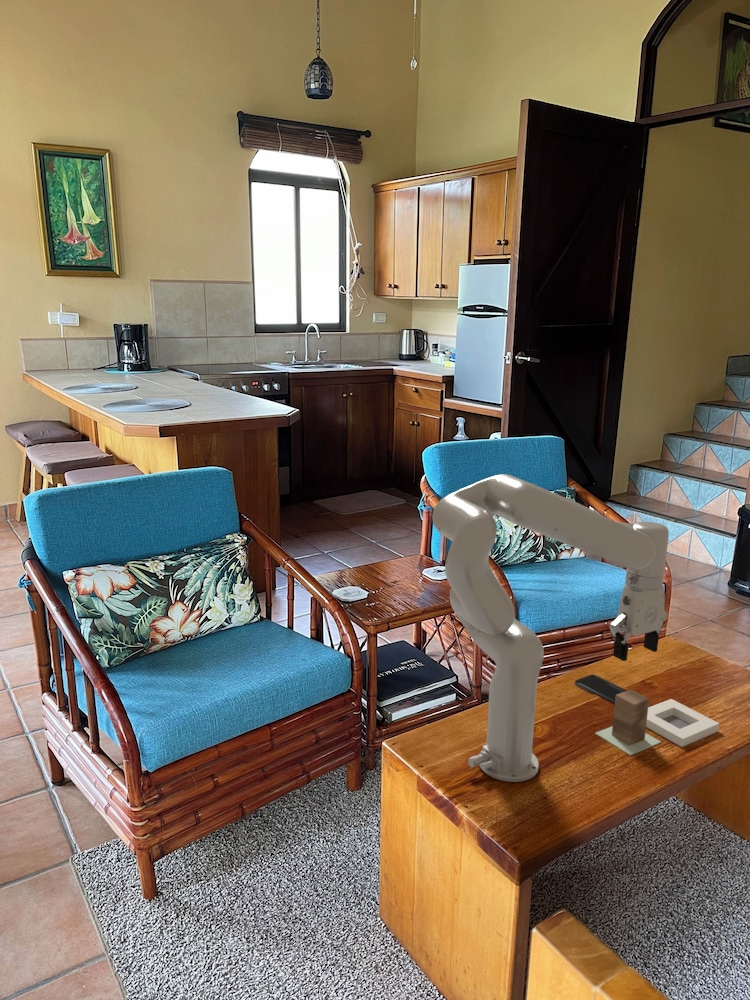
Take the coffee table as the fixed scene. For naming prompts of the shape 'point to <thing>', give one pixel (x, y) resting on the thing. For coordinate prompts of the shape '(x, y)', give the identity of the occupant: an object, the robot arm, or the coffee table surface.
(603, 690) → the phone
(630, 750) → the green mat
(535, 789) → the coffee table surface
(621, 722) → the walnut block
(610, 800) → the coffee table surface
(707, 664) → the coffee table surface
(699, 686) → the coffee table surface
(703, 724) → the pocket plate
